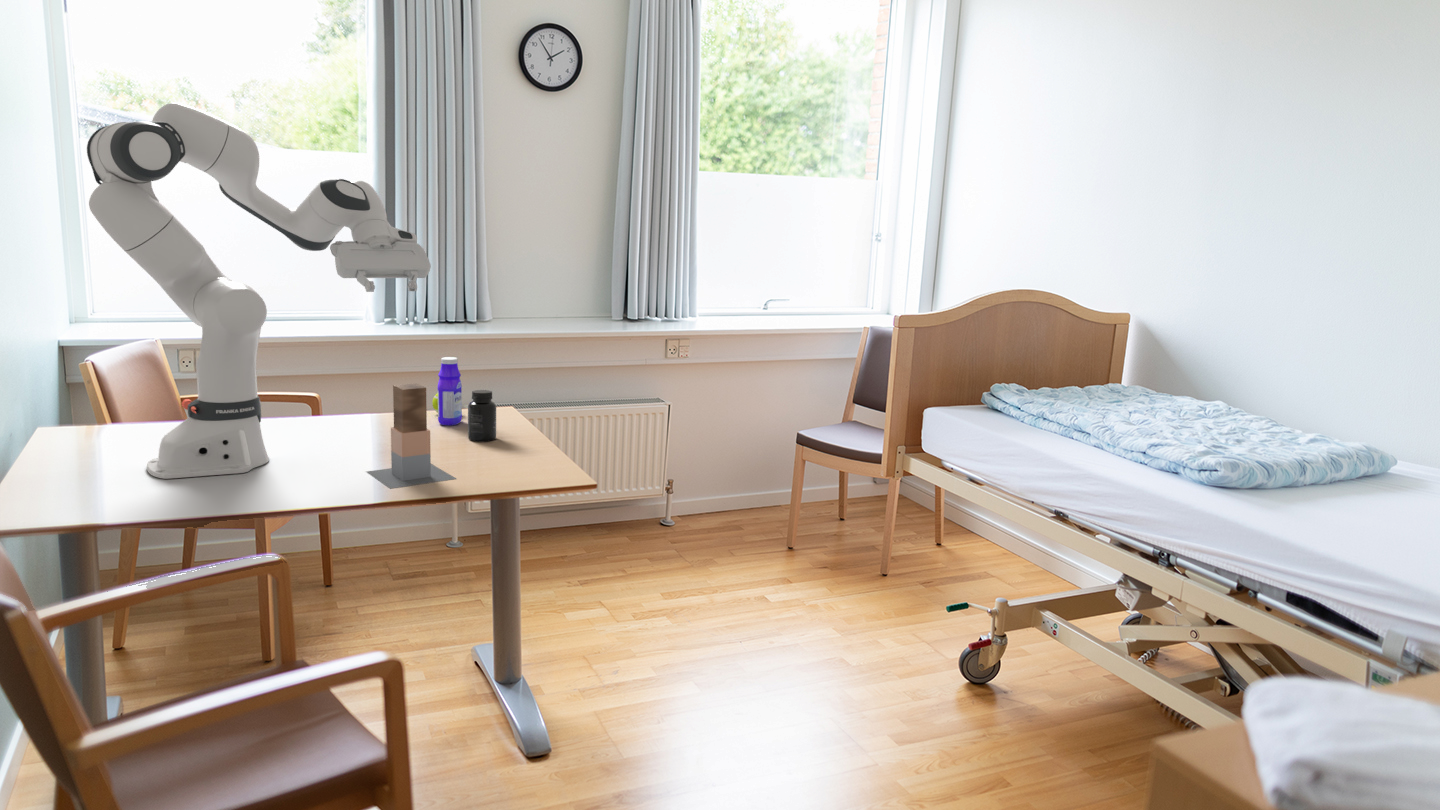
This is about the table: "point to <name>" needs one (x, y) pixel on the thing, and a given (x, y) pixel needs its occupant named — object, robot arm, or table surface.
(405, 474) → the tower bottom
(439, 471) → the rubber mat
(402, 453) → the tower top
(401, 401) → the walnut post
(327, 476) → the table surface
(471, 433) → the supplement bottle
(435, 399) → the tennis ball
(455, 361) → the bottle
